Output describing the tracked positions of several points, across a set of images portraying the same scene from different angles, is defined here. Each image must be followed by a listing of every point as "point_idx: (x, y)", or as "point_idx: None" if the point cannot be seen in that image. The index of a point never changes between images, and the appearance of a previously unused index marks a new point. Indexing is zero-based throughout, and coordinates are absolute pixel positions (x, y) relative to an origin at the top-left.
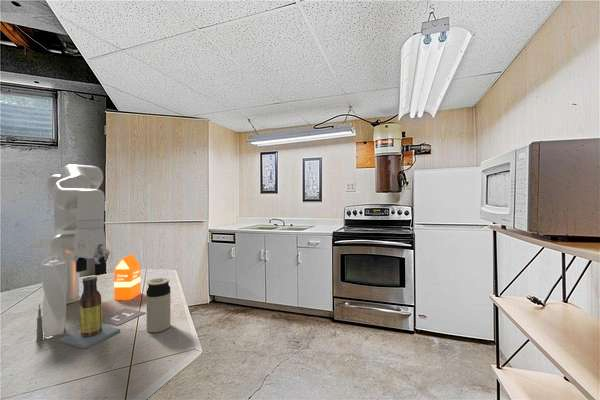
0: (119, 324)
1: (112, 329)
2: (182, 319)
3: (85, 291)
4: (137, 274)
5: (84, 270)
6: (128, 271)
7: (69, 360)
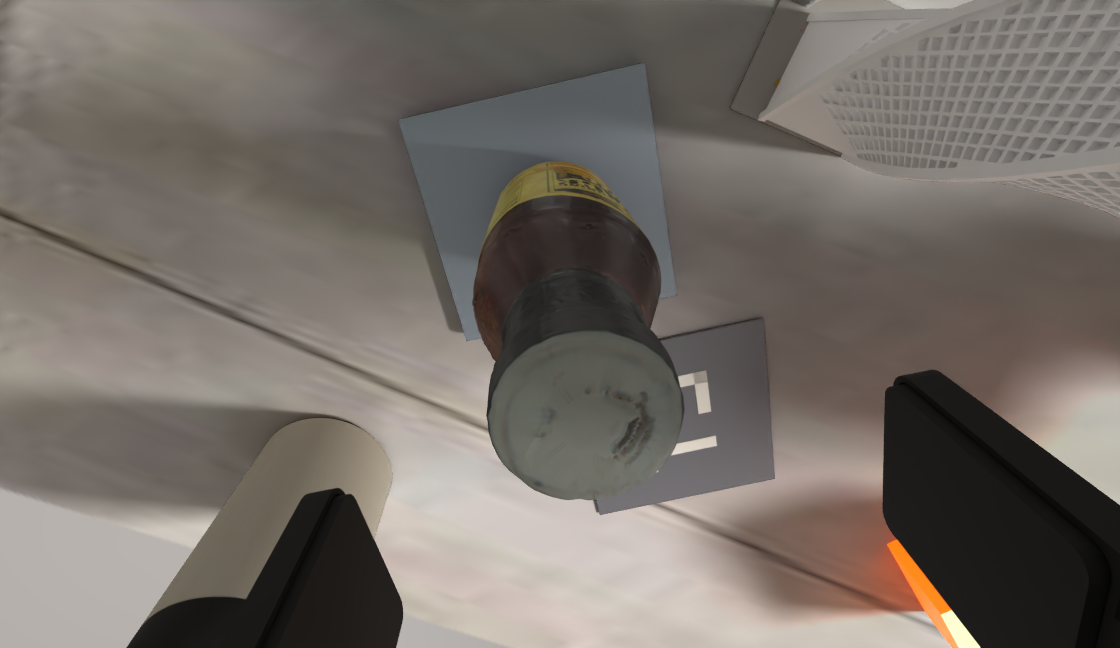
0: None
1: None
2: None
3: (538, 280)
4: None
5: (891, 487)
6: None
7: (311, 4)
